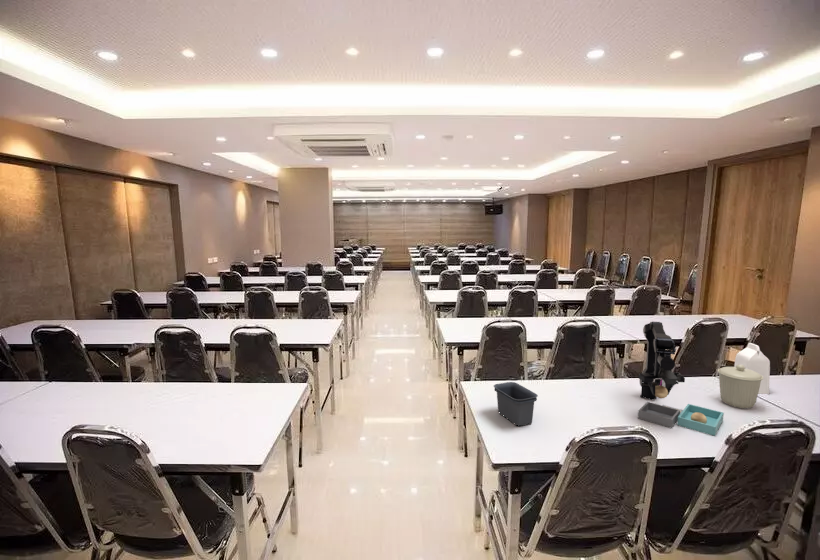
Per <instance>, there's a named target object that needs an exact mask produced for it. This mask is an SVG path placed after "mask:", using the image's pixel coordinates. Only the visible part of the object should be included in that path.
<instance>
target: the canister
mask: <svg viewBox="0 0 820 560" xmlns="http://www.w3.org/2000/svg"><path fill="white" fill-rule="evenodd" d="M717 373H718V379H719V380H718V381H719V382H718V383H719V394H720V399H721V401H722V402H723V403H725V404H726V405H728V406H730V407H733V408H737V409H752V408H753V407H754V406H755V405H756V402H757V399H758V395H759V394H758V392H759V388H760V384H761V380H763V376H762V375H760V374H759V373H757V372H755V371H752V370H749V369H745V367H744V366H743V365H740V364H739V365H736V367H734V366H723V367H721V368H717Z"/></svg>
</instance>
